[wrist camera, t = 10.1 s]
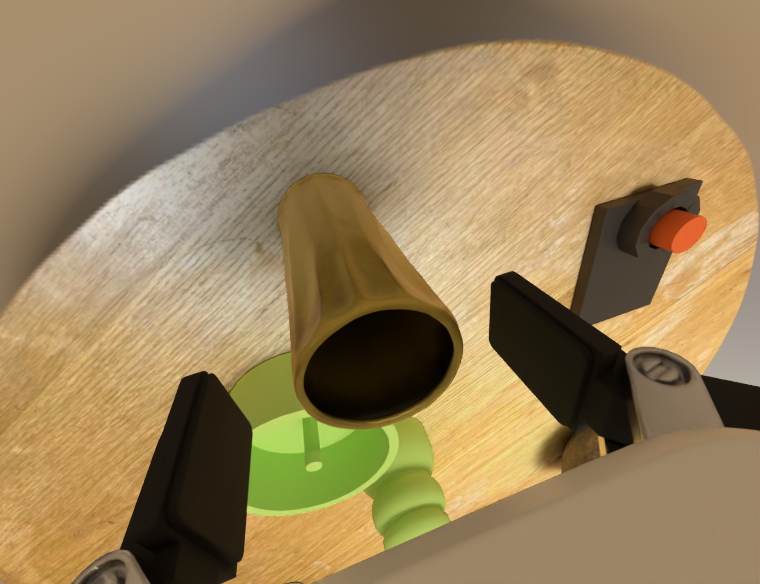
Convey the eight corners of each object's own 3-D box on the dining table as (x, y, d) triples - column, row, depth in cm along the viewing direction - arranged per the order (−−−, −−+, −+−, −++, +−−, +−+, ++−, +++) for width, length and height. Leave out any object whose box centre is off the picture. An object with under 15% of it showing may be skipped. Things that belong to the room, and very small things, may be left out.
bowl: (599, 381, 44) (672, 446, 36) (665, 393, 53) (735, 446, 45) (516, 467, 52) (560, 536, 44) (585, 464, 61) (632, 521, 53)
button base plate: (597, 199, 26) (630, 209, 24) (691, 171, 27) (731, 178, 25) (566, 324, 34) (588, 341, 32) (640, 298, 36) (666, 313, 33)
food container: (189, 425, 27) (133, 627, 16) (303, 320, 24) (321, 481, 14) (369, 482, 41) (399, 611, 30) (453, 419, 38) (516, 536, 28)
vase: (360, 263, 23) (444, 428, 11) (275, 258, 21) (272, 452, 9) (376, 180, 20) (508, 289, 8) (279, 165, 18) (279, 279, 6)
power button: (654, 214, 25) (681, 222, 24) (685, 204, 26) (714, 211, 24) (642, 248, 27) (666, 258, 25) (671, 238, 27) (696, 247, 26)
